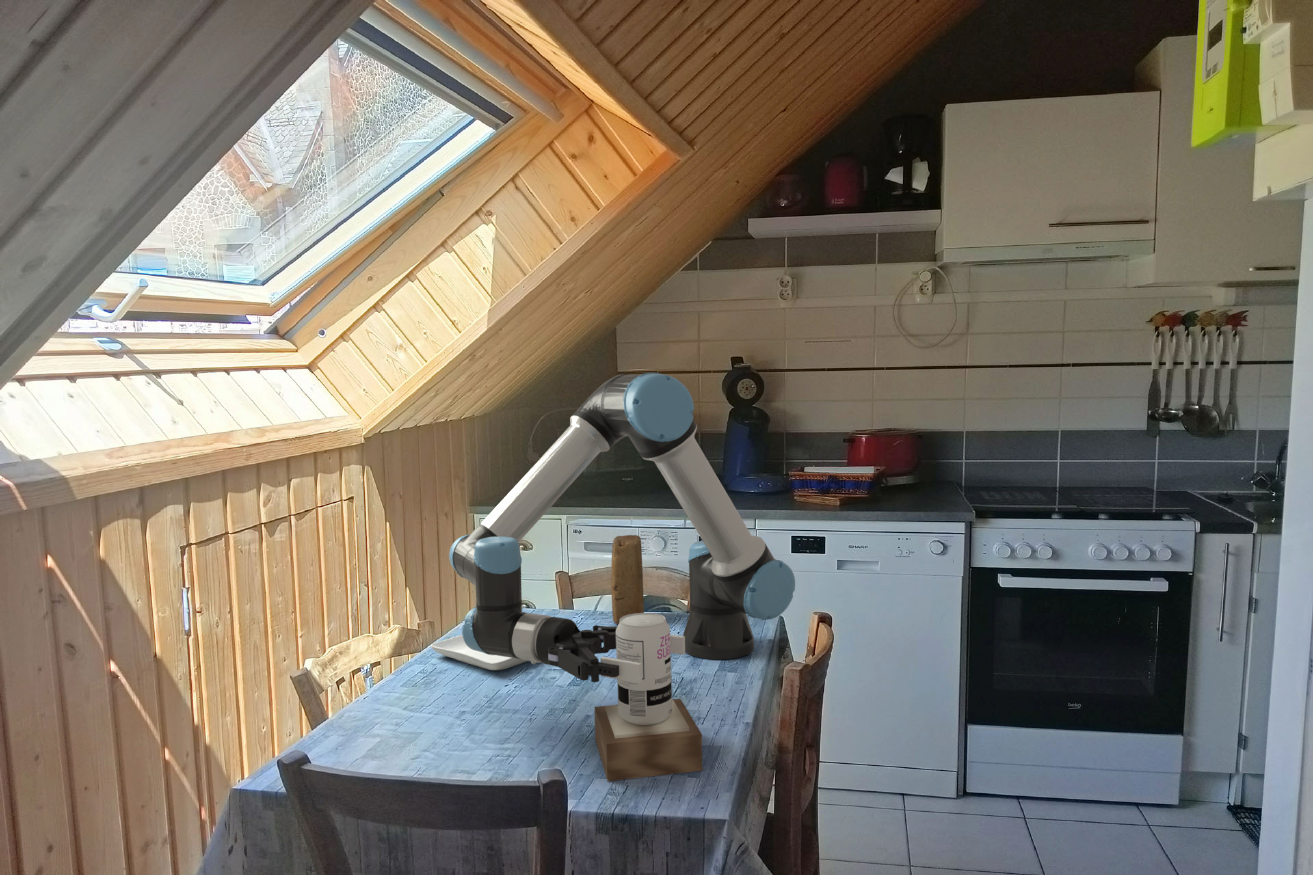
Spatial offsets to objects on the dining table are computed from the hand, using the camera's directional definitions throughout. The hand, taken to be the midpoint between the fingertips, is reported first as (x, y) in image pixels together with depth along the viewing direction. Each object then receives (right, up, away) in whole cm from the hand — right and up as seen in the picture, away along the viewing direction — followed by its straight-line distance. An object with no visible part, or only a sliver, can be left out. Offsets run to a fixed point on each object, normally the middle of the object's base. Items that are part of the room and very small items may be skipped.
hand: (663, 658), depth 127 cm
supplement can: (-3, -10, +2) cm, 10 cm away
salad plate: (-34, -13, +51) cm, 63 cm away
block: (-8, -10, +74) cm, 75 cm away
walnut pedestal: (-3, -15, +3) cm, 16 cm away
